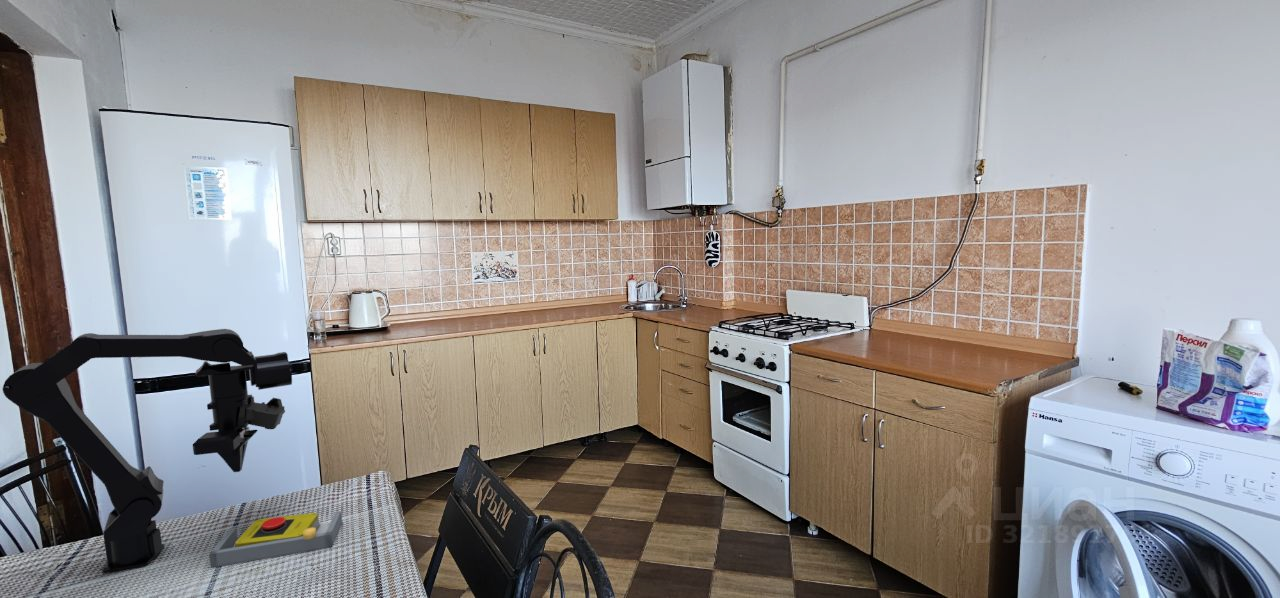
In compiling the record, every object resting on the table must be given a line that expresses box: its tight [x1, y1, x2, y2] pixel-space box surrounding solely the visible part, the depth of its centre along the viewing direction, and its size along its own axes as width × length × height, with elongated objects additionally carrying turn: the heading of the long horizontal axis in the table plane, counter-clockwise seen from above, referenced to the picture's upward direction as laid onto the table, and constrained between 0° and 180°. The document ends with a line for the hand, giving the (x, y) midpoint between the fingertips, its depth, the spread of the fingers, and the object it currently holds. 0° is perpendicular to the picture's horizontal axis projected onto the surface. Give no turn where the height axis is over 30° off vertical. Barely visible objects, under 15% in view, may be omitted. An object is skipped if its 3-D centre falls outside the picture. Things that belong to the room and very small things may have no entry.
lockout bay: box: [208, 510, 343, 568], centre depth 103 cm, size 19×10×4 cm, turn 107°
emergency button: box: [234, 512, 331, 547], centre depth 104 cm, size 9×4×15 cm
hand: (237, 471), depth 108 cm, fingers closed
